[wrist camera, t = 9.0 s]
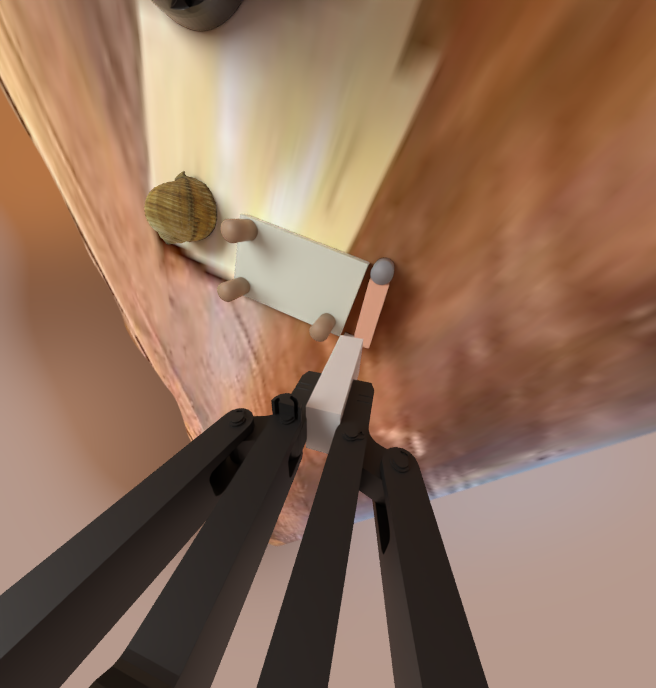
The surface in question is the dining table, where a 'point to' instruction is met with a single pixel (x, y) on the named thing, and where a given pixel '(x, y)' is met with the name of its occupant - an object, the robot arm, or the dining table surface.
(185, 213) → the seashell
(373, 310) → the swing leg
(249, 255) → the pale board with pegs
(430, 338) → the dining table surface
